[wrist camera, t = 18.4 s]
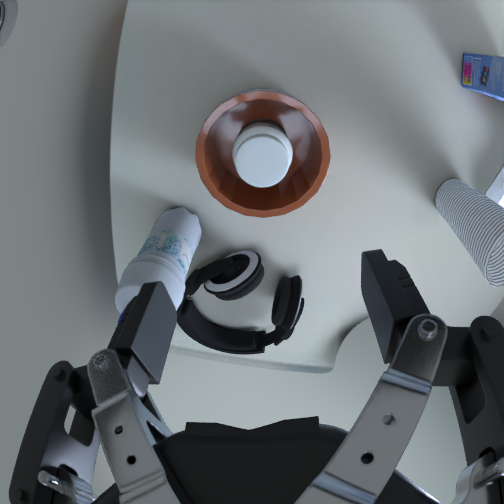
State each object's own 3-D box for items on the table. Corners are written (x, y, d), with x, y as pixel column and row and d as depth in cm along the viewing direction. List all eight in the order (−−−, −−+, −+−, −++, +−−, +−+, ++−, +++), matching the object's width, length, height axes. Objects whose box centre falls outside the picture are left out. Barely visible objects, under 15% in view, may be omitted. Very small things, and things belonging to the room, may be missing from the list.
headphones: (331, 319, 38) (251, 374, 49) (326, 278, 44) (255, 338, 55) (210, 257, 33) (157, 334, 44) (223, 219, 39) (170, 299, 50)
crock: (223, 196, 38) (214, 226, 31) (198, 101, 31) (180, 108, 24) (321, 180, 36) (335, 207, 29) (306, 80, 29) (319, 82, 22)
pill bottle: (275, 169, 35) (279, 203, 27) (230, 152, 34) (219, 180, 25) (295, 127, 32) (306, 147, 24) (248, 108, 31) (243, 120, 22)
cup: (448, 158, 32) (519, 209, 19) (479, 188, 34) (541, 243, 21) (417, 206, 37) (473, 272, 24) (450, 230, 39) (502, 295, 26)
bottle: (202, 248, 42) (168, 365, 25) (157, 239, 41) (103, 348, 25) (208, 206, 38) (169, 319, 22) (160, 197, 38) (91, 300, 21)
